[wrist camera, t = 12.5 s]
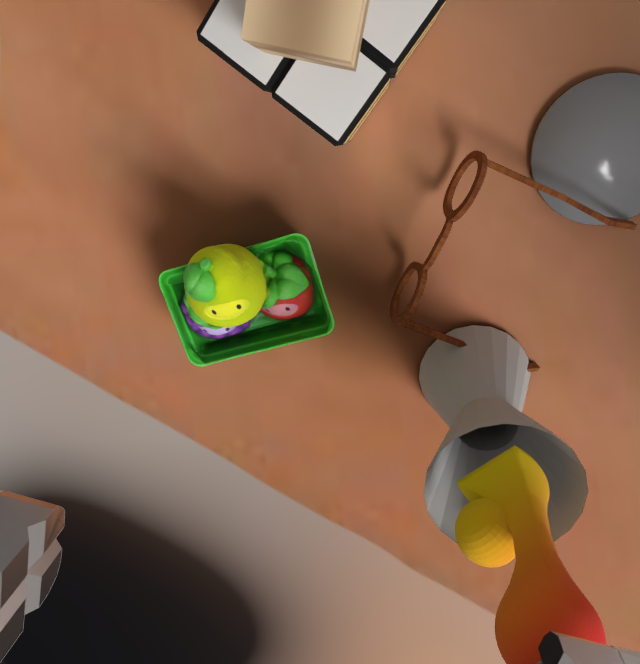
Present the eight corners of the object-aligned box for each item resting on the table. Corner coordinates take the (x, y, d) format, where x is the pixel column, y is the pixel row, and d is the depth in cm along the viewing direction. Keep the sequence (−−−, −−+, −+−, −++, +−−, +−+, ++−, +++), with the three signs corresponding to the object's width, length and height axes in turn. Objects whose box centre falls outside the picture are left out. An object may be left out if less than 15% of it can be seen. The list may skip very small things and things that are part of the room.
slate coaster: (707, 93, 40) (712, 92, 39) (645, 238, 43) (648, 240, 42) (560, 57, 40) (563, 56, 39) (510, 205, 43) (511, 206, 43)
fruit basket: (210, 346, 49) (163, 408, 39) (170, 243, 47) (109, 280, 36) (342, 311, 47) (331, 366, 37) (308, 202, 45) (286, 227, 34)
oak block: (376, -34, 30) (375, -69, 25) (355, 71, 32) (350, 61, 27) (280, -52, 31) (258, -92, 25) (265, 53, 32) (241, 39, 27)
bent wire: (468, 144, 41) (477, 152, 37) (634, 222, 42) (663, 239, 37) (386, 304, 47) (384, 328, 42) (535, 371, 47) (549, 402, 43)
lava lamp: (486, 300, 45) (701, 827, 13) (556, 383, 47) (896, 1025, 15) (393, 368, 48) (382, 930, 16) (462, 443, 50) (577, 1083, 18)
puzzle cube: (233, 54, 42) (191, 36, 32) (317, -84, 38) (297, -150, 29) (348, 143, 43) (339, 150, 34) (438, 16, 40) (457, -16, 30)
